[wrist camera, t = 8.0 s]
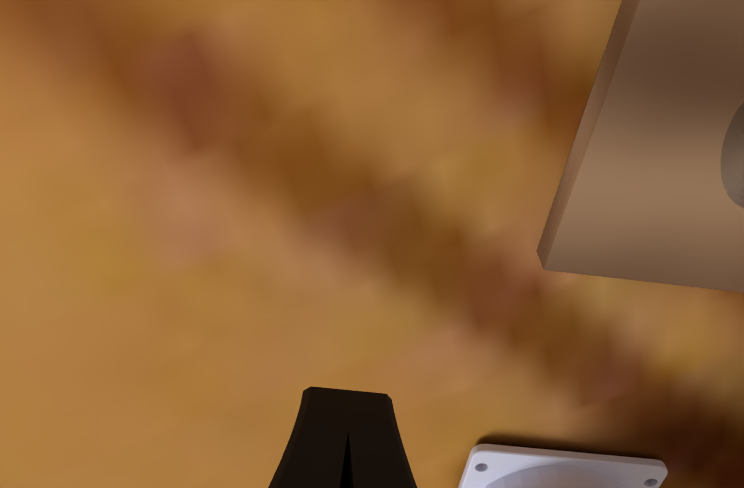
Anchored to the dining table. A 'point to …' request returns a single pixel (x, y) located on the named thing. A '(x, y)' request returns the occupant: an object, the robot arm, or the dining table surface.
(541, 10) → the dining table surface
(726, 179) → the pipe
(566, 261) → the pipe board
